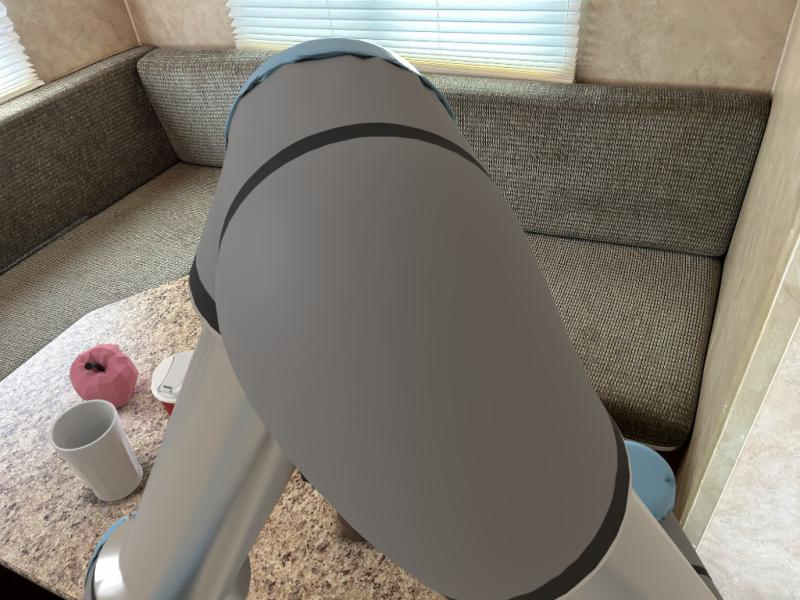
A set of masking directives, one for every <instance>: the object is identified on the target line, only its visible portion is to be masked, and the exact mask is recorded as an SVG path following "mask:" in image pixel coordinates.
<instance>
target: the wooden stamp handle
mask: <svg viewBox="0 0 800 600" xmlns="http://www.w3.org/2000/svg"><path fill="white" fill-rule="evenodd" d="M336 517H337V520H338V526H339V529H340V532H341V533H342V535H343V536H344V537H345V538H346V539H348V540H349V541H353V542H363V541H367V540H366V539H365V538H364V537H363V536H361V535H360V534H359V533H358V532H357V531H356V530H355V529H354V528H353V527H351V525H350V524H348V522H347V521H346V520H345V519H344V518H343V517H342V516H341V515H340V514H339V513H338V512H337V511H336Z"/></svg>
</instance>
